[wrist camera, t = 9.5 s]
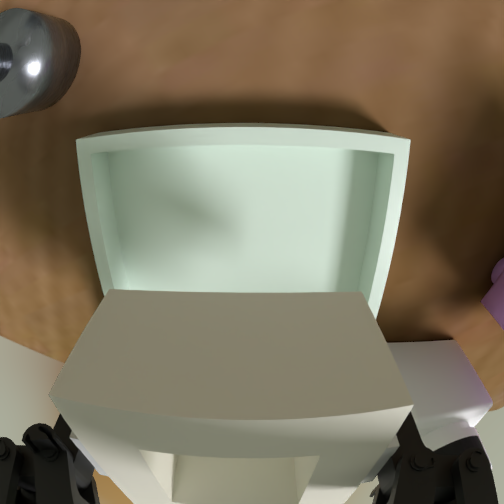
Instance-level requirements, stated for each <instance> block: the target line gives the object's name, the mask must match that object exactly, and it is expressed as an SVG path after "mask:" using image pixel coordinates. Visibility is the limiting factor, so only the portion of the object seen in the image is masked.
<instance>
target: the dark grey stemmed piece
mask: <svg viewBox="0 0 504 504" xmlns="http://www.w3.org/2000/svg"><path fill="white" fill-rule="evenodd" d="M80 55H81V46H80V40H79V36H78V34H77V32H76V30H75V28H74V27H73V26H72V25H71V24H70V23H69V22H67V21H66V20H63V19H60V18H57V17H53V16H49V15H46V14H42V13H38V12H34V11H30V10H26V9H21V8H13V9H9V10H6V11H4V12H2V13H0V118H4V117H9V116H14V115H18V114H23V113H29V112H34V111H40V110H43V109H46V108H48V107H50V106H52V105H53V104H55V103H56V102H57V101H58V100H60V99H61V98H62V96H63V95H64V94H65V93H66V92H67V90H68V89H69V87H70V86H71V84H72V82H73V80H74V78H75V76H76V73H77V70H78V67H79V63H80Z"/></svg>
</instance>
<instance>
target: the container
mask: <svg viewBox="0 0 504 504" xmlns="http://www.w3.org/2000/svg"><path fill="white" fill-rule="evenodd" d="M387 345H388V347H389V349H390V351H391V353H392V355H393V358H394V360H395V362H396V364H397V366H398V369H399V371H400V373H401V375H402V378H403V380H404V382H405V385H406V387H407V389H408V391H409V394H410V396H411V399H412V401H413V403H414V406H413V407H412V409H411V413H412V416H413V418H414V421H415V423H416V426H417V429H418V431H419V434H420V437H421V439H422V441H423V443H424V445H425V446H426V447H427V448H429V449H431V450H432V451H433V452H434V453H436V454H440V455H461V454H462V453H463V452H464V451H465V450H466V449H469V448H479V449H481V450H483V451H484V452H485V453H486V454H487V452H486V450H485V448H484V446H483V444H482V442H481V439H480V437H479V434H478V432H477V430H476V428H474V426H475V425H476V424H477V423H478V422H479V421H480V419H481V418H482V417H483V416H484V415H485V414H486V413H487V411H488V410H489V409H490V408H491V406H492V404H493V402H492V399H491V397H490V396H489V394H488V392H487V390H486V389H485V387H484V385H483V383H482V382H481V380H480V378H479V377H478V375H477V373H476V371H475V370H474V368H473V367H472V365H471V363H470V362H469V360H468V358H467V357H466V355H465V354H464V352H463V350H462V349H461V347H460V346H459V344H458V343H457V341H456V340H442V341H424V342H398V343H387ZM487 456H488V455H487ZM488 459H489V457H488ZM489 462H490V460H489ZM490 466H491V470H492V464H491V462H490Z"/></svg>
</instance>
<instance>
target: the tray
mask: <svg viewBox="0 0 504 504" xmlns="http://www.w3.org/2000/svg"><path fill="white" fill-rule="evenodd" d="M76 147H77V157H78V166H79V173H80V181H81V188H82V195H83V201H84V207H85V213H86V218H87V224H88V229H89V234H90V239H91V244H92V248H93V253H94V257H95V262H96V266H97V270H98V274H99V278H100V282H101V286H102V290H103V294H104V296H105V295H106V293H107V292H108V290H109V289H122V290H147V291H179V292H235V293H302V292H357V291H362V293H363V295H364V297H365V299H366V301H367V303H368V305H369V307H370V309H371V311H372V313H373V315H374V317H375V319H376V318H377V314H378V310H379V307H380V303H381V299H382V295H383V292H384V288H385V284H386V280H387V276H388V271H389V267H390V263H391V258H392V254H393V249H394V244H395V239H396V234H397V229H398V224H399V219H400V213H401V207H402V201H403V195H404V188H405V182H406V174H407V167H408V159H409V150H410V139H407V138H404V137H401V136H398V135H395V134H392V133H388V132H380V131H372V130H363V129H354V128H344V127H332V126H319V125H302V124H279V123H207V124H184V125H167V126H154V127H143V128H132V129H123V130H115V131H107V132H99V133H95V134H92V135H89V136H86V137H82V138H79V139H76Z"/></svg>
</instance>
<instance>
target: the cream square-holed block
mask: <svg viewBox="0 0 504 504" xmlns="http://www.w3.org/2000/svg"><path fill="white" fill-rule="evenodd" d="M49 397H50V398H51V400H52V401H53V403H54V404H55V406H56V408H57V409H58V410H59V412H60V414H61V415H62V417H63V418H64V420H65V421H66V422H67V424H68V425H69V427H70V428H71V430H72V431H73V432H74V434H75V435H76V436H77V438H78V439H79V440H80V442H81V443H82V444H83V446H84V447H85V448H86V450H87V451H88V452H89V453H90V455H91V456H92V457H93V458H94V460H95V461H96V462H97V463H98V465H99V466H100V467H101V468H102V469H103V470H104V472H105V473H106V474H107V475H108V476H109V477H110V478H111V480H112V481H113V482H114V483H115V484H116V485H117V486H118V487H119V488H120V489H121V490H122V492H123V493H124V494H125V495H126V496H127V497H128V498H129V499H130V500H131V501H132V502H133V503H134V504H344V503H345V502H346V501H347V499H348V498H349V497H350V496H351V495H352V493H353V492H354V491H355V490H356V489H357V487H358V486H359V485H360V483H361V482H362V481H363V480H364V478H365V477H366V476H367V474H368V473H369V472H370V471H371V469H372V468H373V466H374V465H375V464H376V462H377V461H378V460H379V458H380V457H381V455H382V454H383V453H384V451H385V450H386V448H387V447H388V445H389V444H390V442H391V441H392V439H393V438H394V436H395V435H396V433H397V432H398V430H399V429H400V427H401V425H402V424H403V422H404V421H405V419H406V417H407V416H408V414H409V412H410V411H411V409H412V407H413V406H414V403H413V401H412V399H411V396H410V394H409V391H408V389H407V387H406V385H405V382H404V380H403V378H402V375H401V373H400V371H399V369H398V366H397V364H396V362H395V360H394V358H393V355H392V353H391V351H390V349H389V347H388V345H387V342H386V340H385V338H384V336H383V334H382V332H381V330H380V328H379V326H378V323H377V321H376V319H375V317H374V315H373V313H372V311H371V309H370V307H369V305H368V303H367V301H366V299H365V297H364V295H363V293H362V291H357V292H302V293H235V292H179V291H147V290H122V289H109V290H108V292H107V293H106V295H105V296H104V298H103V300H102V301H101V303H100V304H99V306H98V308H97V309H96V311H95V313H94V314H93V316H92V317H91V319H90V321H89V322H88V324H87V326H86V327H85V329H84V331H83V333H82V334H81V336H80V338H79V339H78V341H77V343H76V345H75V346H74V348H73V350H72V352H71V353H70V355H69V357H68V359H67V361H66V362H65V364H64V366H63V368H62V370H61V372H60V373H59V375H58V377H57V379H56V381H55V383H54V385H53V387H52V389H51V391H50V392H49Z"/></svg>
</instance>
